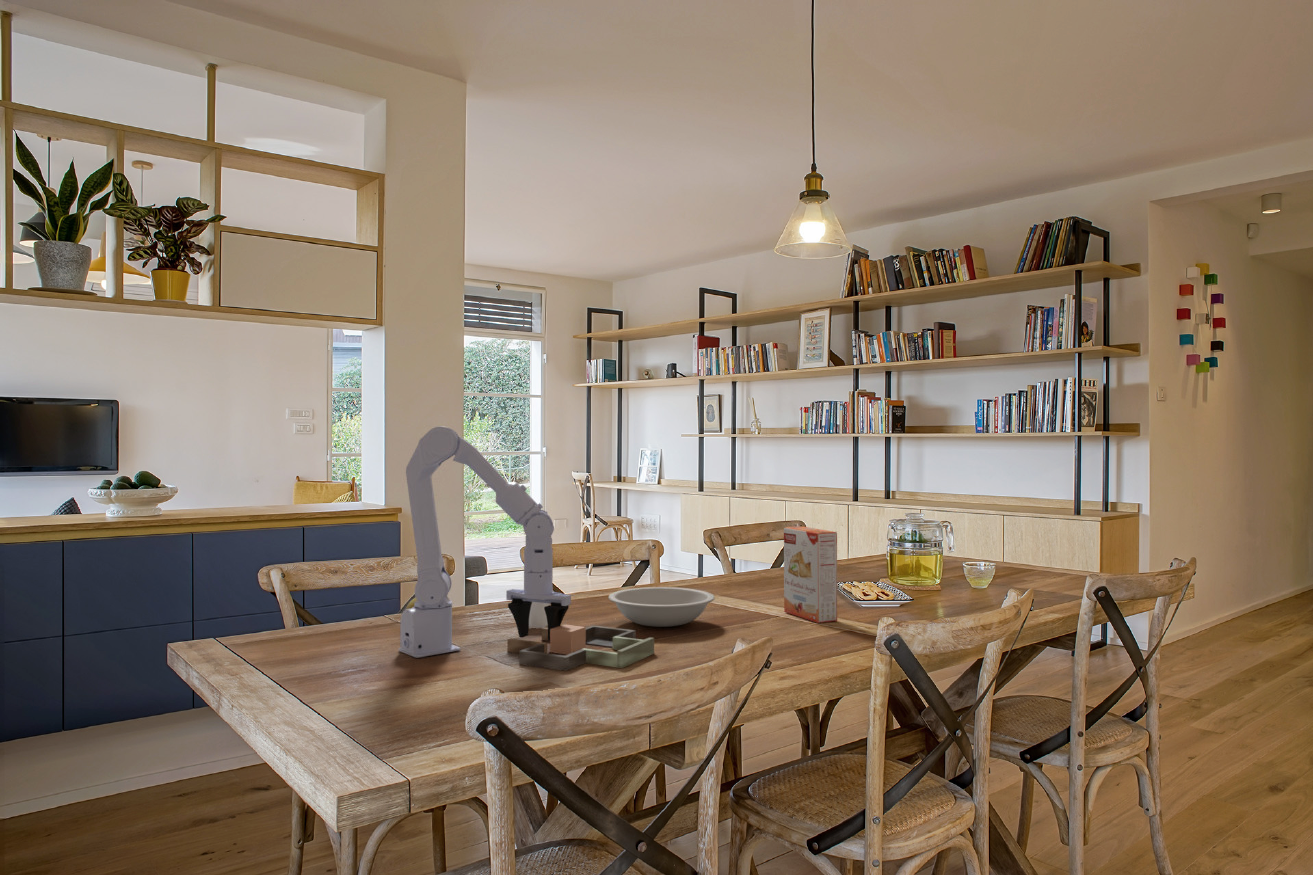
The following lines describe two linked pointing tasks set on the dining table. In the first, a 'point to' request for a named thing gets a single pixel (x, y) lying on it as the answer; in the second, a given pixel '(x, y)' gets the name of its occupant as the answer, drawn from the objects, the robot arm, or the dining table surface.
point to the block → (567, 639)
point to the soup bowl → (661, 605)
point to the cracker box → (810, 573)
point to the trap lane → (586, 650)
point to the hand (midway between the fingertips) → (538, 638)
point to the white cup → (538, 615)
